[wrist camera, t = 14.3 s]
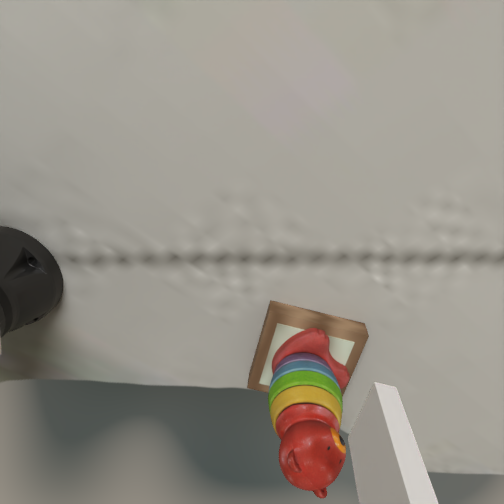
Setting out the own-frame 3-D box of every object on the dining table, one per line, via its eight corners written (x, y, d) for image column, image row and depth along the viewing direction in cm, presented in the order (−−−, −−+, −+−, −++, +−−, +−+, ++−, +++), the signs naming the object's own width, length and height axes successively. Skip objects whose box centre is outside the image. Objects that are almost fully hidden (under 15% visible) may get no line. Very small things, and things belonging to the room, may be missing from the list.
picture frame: (249, 374, 60) (247, 388, 57) (270, 300, 54) (269, 312, 51) (334, 394, 60) (336, 410, 57) (364, 323, 54) (368, 336, 51)
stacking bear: (353, 378, 54) (382, 502, 38) (291, 401, 57) (292, 525, 41) (320, 322, 51) (336, 431, 35) (256, 349, 54) (242, 461, 37)
